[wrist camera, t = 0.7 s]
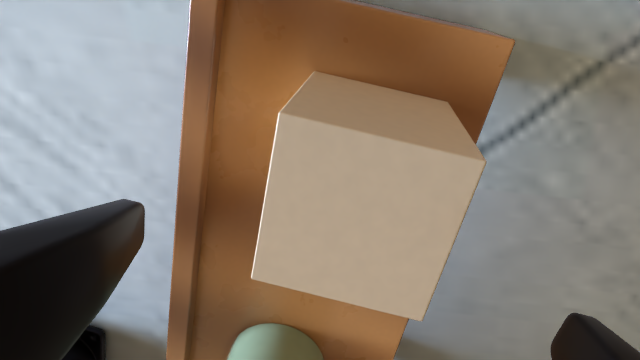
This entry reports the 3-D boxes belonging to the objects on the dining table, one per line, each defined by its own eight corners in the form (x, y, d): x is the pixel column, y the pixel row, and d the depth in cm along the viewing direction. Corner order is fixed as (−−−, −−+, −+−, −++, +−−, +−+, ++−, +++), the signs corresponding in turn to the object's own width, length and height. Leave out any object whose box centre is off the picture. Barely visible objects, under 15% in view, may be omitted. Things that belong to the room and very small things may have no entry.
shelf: (370, 352, 27) (368, 439, 22) (205, 310, 27) (163, 385, 22) (483, 29, 19) (524, 42, 13) (243, -26, 19) (191, -33, 14)
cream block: (408, 219, 17) (422, 322, 12) (290, 190, 17) (250, 279, 12) (448, 101, 15) (487, 161, 10) (313, 70, 15) (277, 111, 10)
